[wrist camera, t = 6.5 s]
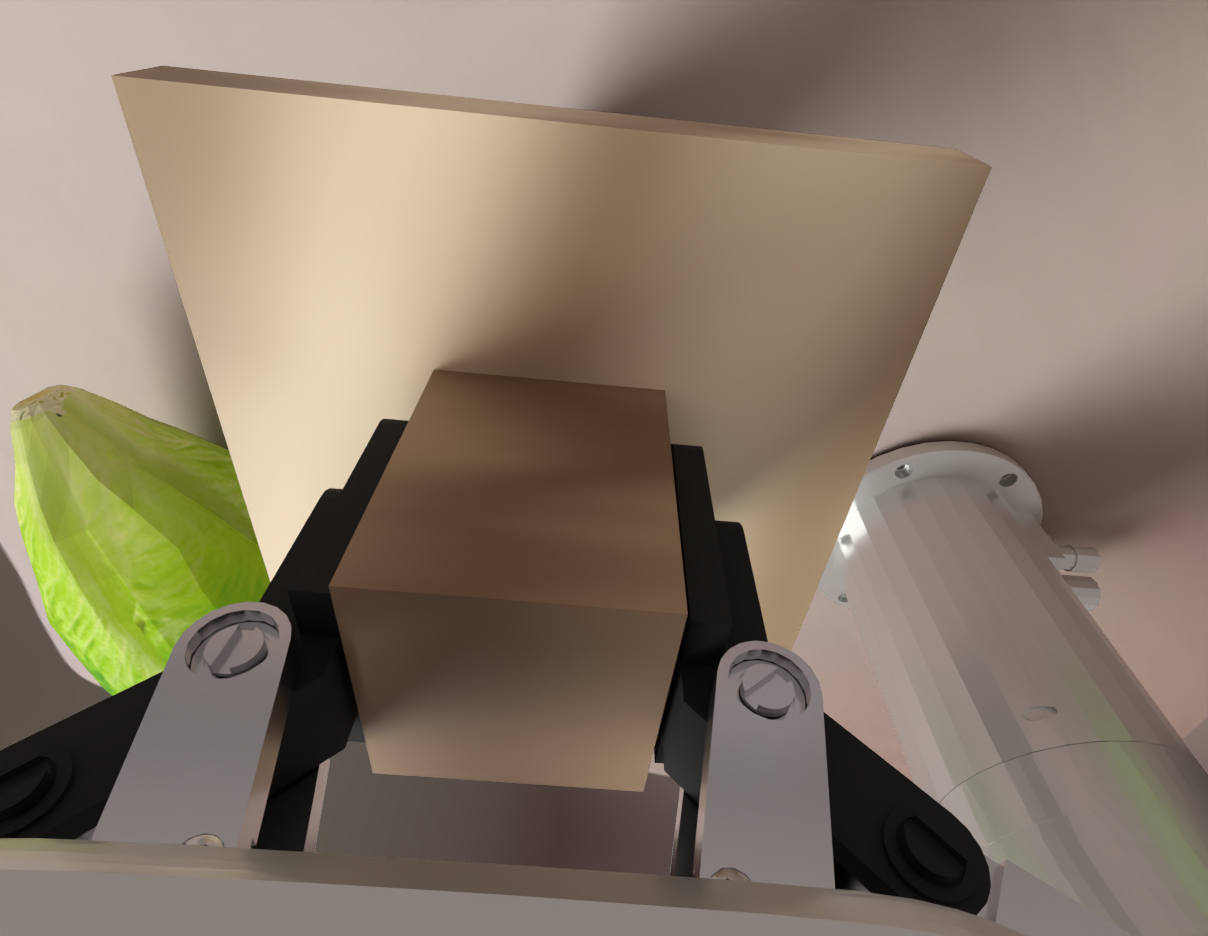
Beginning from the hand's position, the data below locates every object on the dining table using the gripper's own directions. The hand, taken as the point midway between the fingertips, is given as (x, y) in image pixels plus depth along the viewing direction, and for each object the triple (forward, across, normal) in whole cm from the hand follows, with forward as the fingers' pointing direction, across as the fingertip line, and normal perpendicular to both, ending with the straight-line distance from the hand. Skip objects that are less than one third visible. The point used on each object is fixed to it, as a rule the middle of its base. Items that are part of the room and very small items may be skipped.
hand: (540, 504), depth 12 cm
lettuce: (+19, +17, +17) cm, 31 cm away
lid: (+2, 0, 0) cm, 2 cm away
